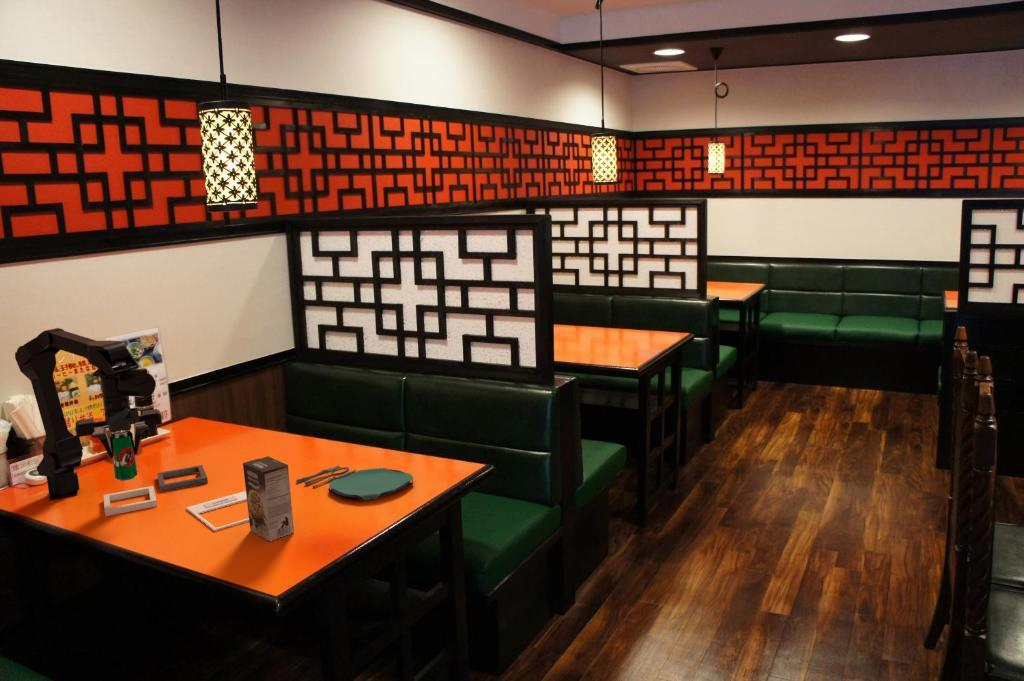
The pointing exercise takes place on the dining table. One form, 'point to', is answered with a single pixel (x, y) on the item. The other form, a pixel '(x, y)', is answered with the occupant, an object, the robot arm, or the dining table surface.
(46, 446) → the robot arm
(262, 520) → the coffee box
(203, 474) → the back socket
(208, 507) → the photo frame
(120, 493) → the front socket
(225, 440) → the dining table surface
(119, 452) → the soda can
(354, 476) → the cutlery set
